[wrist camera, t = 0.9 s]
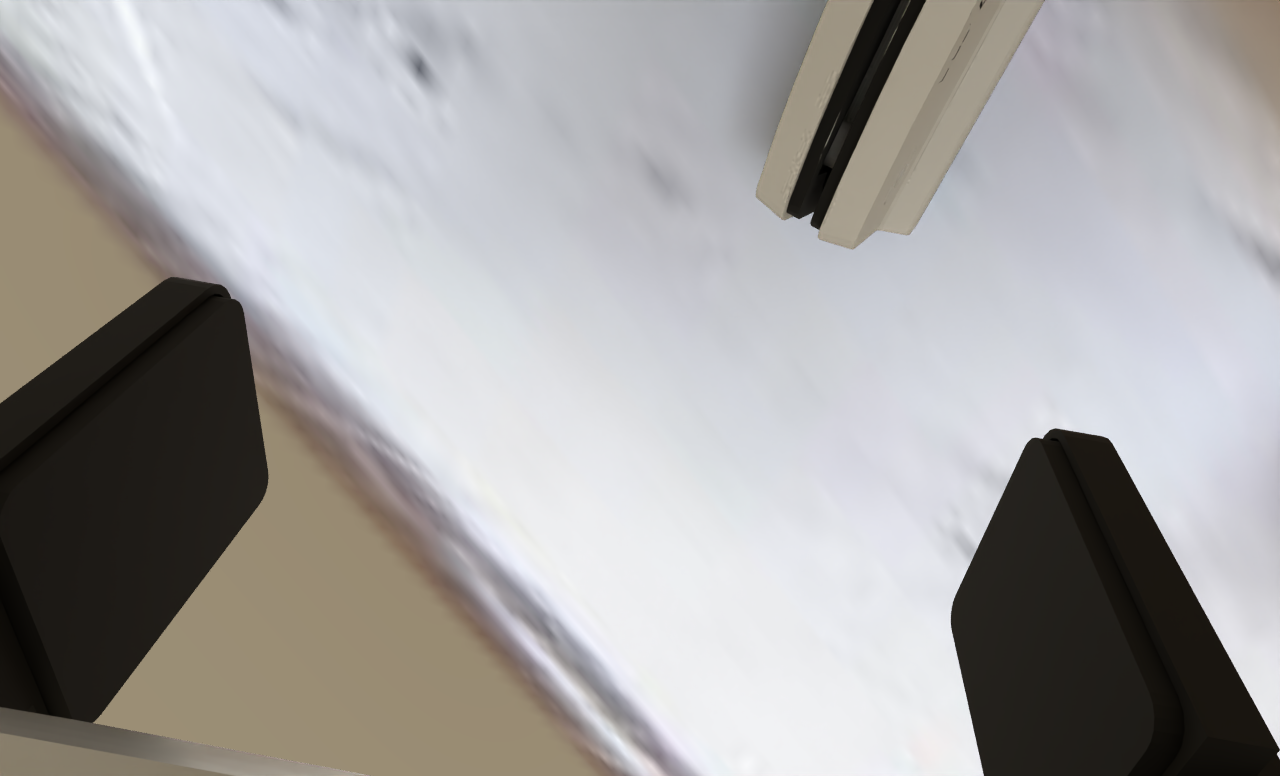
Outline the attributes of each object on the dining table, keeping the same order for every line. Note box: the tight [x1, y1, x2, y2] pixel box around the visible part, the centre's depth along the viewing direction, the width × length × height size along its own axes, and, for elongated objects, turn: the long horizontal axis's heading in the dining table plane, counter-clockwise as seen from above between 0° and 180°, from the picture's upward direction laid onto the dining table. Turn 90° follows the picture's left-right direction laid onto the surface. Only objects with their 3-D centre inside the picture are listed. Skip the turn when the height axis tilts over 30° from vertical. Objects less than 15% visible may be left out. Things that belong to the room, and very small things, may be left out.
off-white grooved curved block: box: [756, 0, 1045, 249], centre depth 27 cm, size 17×5×10 cm, turn 161°
